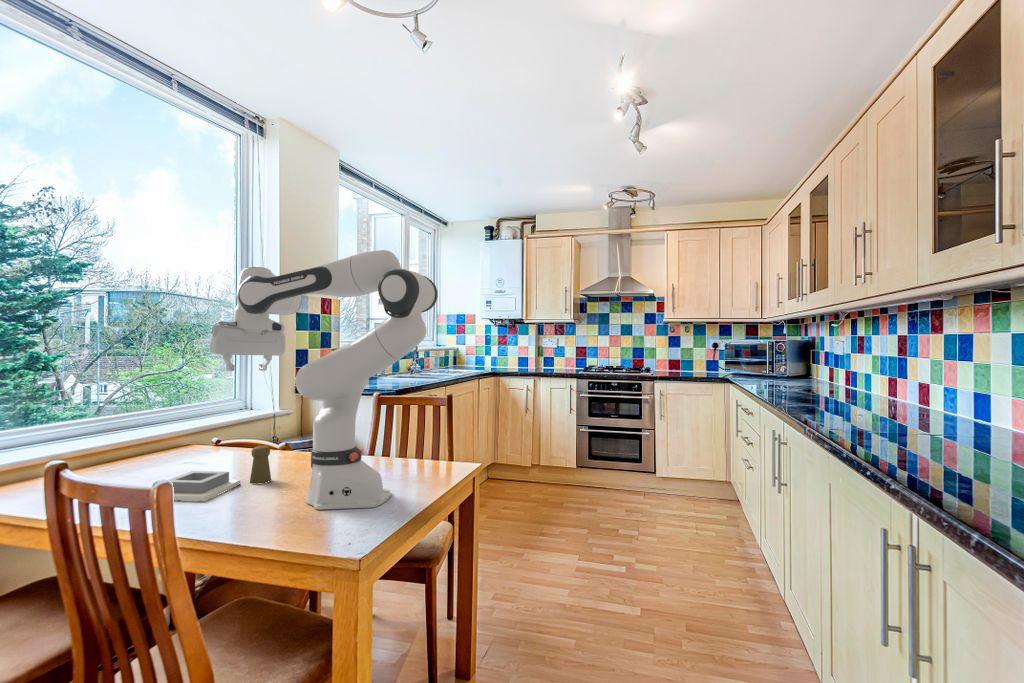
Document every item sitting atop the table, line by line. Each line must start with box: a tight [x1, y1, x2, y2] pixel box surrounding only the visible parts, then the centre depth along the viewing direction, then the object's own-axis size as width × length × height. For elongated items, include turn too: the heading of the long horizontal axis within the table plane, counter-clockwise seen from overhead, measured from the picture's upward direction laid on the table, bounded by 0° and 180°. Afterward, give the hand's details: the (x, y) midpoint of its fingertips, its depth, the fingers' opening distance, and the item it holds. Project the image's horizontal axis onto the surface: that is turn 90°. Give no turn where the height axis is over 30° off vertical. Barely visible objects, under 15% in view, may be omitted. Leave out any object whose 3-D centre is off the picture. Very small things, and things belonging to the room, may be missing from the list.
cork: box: [249, 445, 272, 484], centre depth 152 cm, size 6×6×11 cm
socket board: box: [168, 470, 241, 502], centre depth 141 cm, size 16×16×4 cm
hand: (246, 370), depth 141 cm, fingers open, 8 cm apart
